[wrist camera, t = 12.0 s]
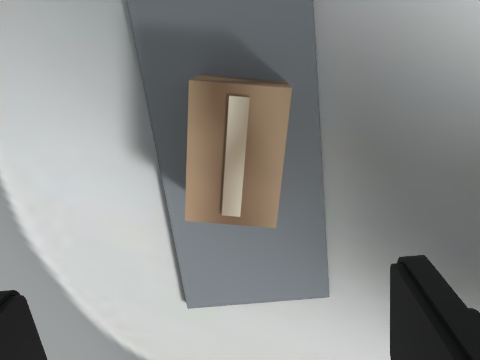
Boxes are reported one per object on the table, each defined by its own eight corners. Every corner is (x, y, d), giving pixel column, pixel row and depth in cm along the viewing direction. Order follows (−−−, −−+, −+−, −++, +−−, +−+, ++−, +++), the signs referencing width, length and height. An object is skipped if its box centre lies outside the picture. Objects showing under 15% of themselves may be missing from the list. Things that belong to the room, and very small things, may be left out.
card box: (286, 81, 27) (292, 88, 22) (272, 202, 30) (276, 229, 25) (199, 74, 27) (188, 80, 22) (194, 195, 30) (184, 222, 25)
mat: (328, 292, 33) (329, 297, 32) (188, 304, 34) (187, 308, 33) (306, -94, 24) (307, -97, 23) (116, -65, 25) (113, -67, 24)
